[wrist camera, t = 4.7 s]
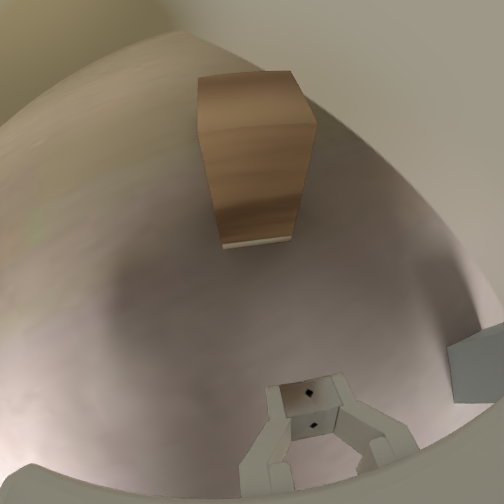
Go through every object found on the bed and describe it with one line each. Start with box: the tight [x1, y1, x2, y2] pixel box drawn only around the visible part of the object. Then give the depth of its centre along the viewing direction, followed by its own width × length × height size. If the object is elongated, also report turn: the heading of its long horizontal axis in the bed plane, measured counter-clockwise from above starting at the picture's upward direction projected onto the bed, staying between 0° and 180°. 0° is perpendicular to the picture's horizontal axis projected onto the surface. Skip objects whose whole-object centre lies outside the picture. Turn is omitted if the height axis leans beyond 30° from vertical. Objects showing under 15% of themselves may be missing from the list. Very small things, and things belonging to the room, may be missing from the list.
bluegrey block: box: [447, 322, 504, 404], centre depth 12 cm, size 5×5×8 cm
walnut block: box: [197, 71, 318, 249], centre depth 16 cm, size 5×5×11 cm
